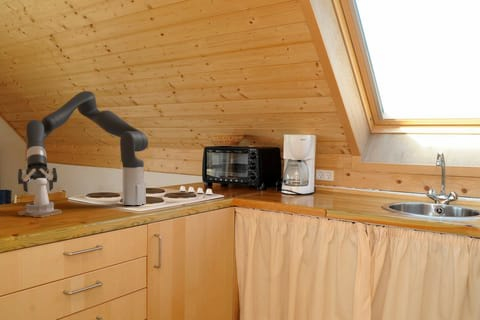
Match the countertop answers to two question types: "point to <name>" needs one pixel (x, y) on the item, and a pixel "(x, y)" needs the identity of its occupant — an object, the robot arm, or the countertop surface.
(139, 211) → the countertop surface
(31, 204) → the cup holder
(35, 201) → the salt shaker
